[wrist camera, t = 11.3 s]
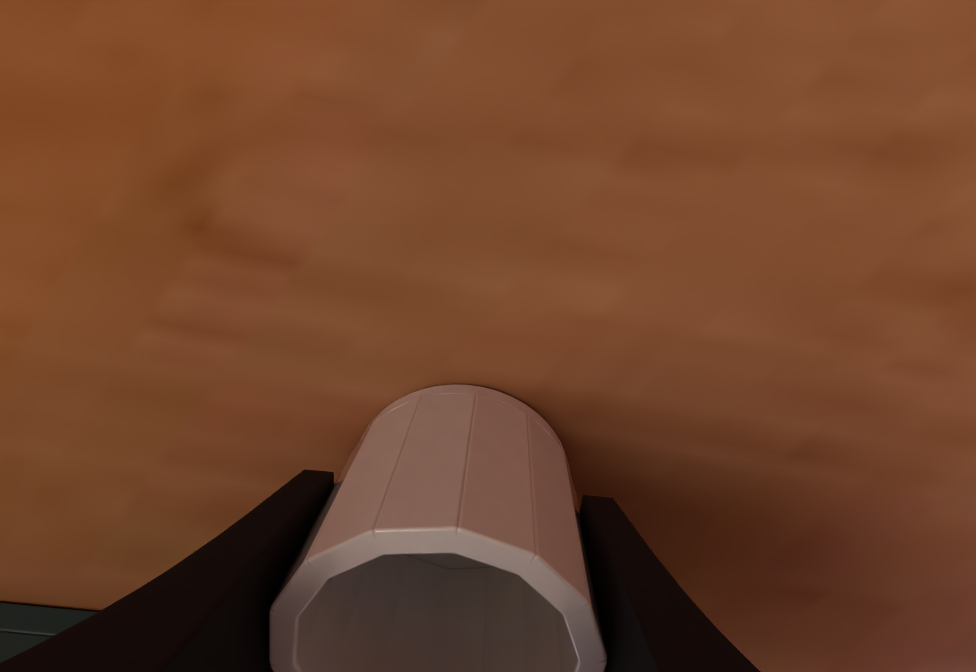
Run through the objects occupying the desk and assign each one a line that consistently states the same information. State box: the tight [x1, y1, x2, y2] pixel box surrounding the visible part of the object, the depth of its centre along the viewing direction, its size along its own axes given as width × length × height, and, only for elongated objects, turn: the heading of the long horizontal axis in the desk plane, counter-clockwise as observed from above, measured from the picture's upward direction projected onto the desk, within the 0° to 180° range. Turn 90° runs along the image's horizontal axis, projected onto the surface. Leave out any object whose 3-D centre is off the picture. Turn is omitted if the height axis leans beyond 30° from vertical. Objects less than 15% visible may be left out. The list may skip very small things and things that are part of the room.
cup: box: [269, 384, 607, 672], centre depth 10 cm, size 5×5×4 cm
